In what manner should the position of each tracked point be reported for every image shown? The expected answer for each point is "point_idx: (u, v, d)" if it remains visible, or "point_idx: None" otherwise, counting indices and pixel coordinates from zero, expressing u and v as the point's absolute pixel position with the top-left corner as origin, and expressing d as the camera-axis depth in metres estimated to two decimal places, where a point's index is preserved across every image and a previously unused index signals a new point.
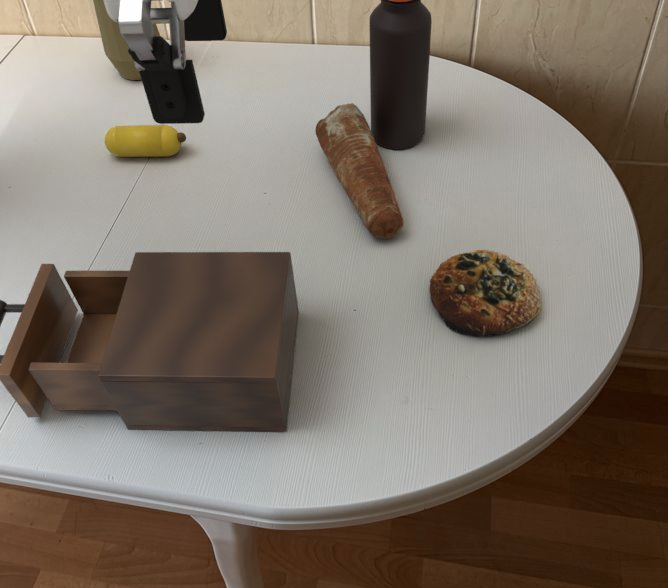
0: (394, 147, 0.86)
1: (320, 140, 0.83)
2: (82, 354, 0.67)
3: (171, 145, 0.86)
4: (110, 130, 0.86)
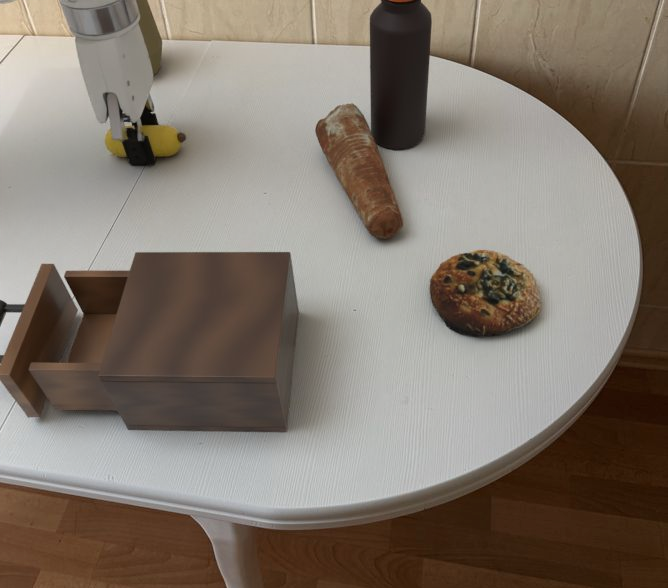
0: (394, 147, 0.86)
1: (320, 140, 0.83)
2: (82, 354, 0.67)
3: (171, 145, 0.86)
4: (110, 130, 0.86)
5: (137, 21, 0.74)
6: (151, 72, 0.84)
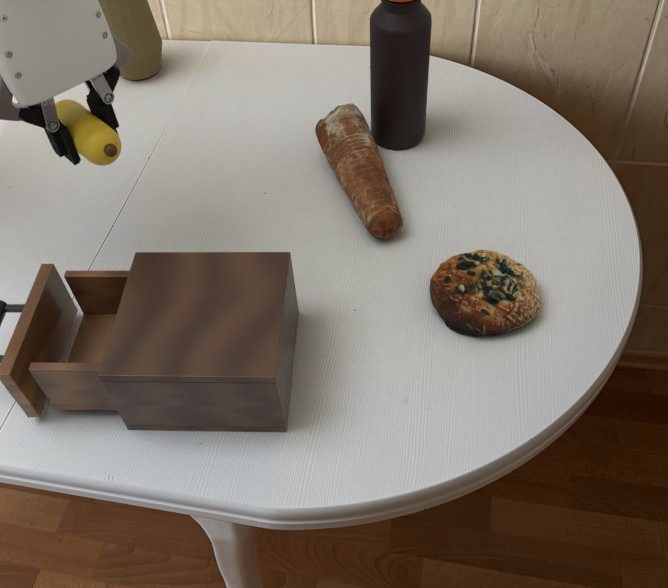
0: (394, 147, 0.86)
1: (320, 140, 0.83)
2: (82, 354, 0.67)
3: (91, 153, 0.64)
4: (58, 102, 0.67)
5: None
6: (107, 55, 0.62)
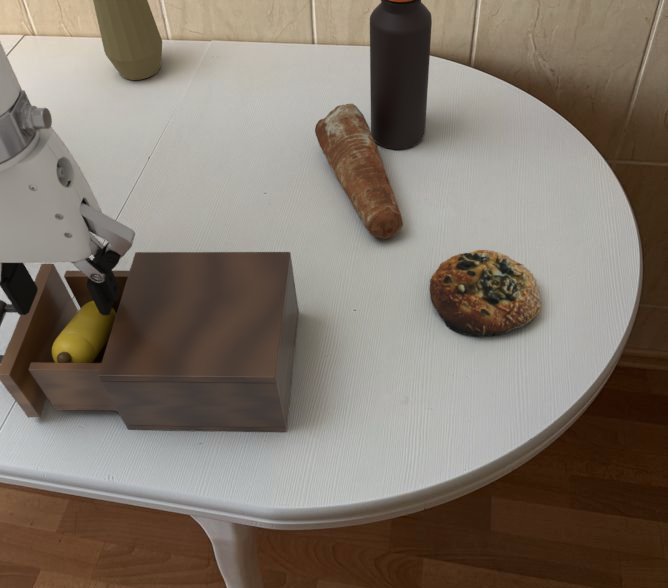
0: (394, 147, 0.86)
1: (320, 140, 0.83)
2: None
3: (52, 353, 0.61)
4: None
5: None
6: (71, 252, 0.53)
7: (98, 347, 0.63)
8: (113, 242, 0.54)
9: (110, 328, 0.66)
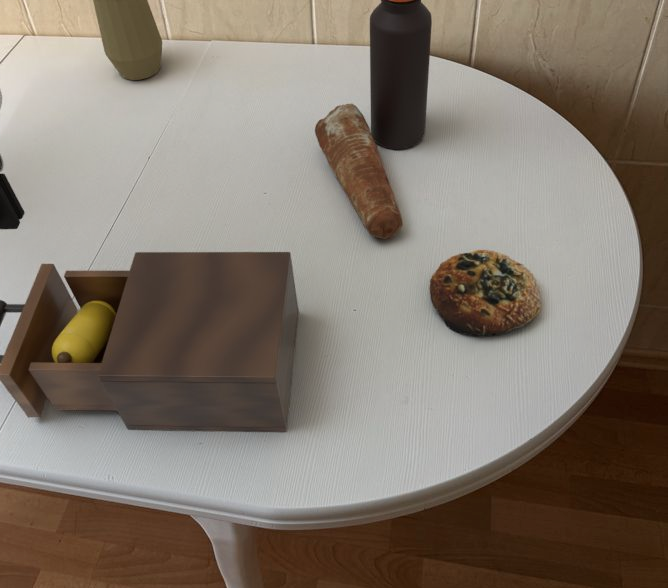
0: (394, 147, 0.86)
1: (319, 140, 0.83)
2: None
3: (52, 353, 0.61)
4: None
5: None
6: None
7: (98, 347, 0.63)
8: None
9: (110, 328, 0.66)
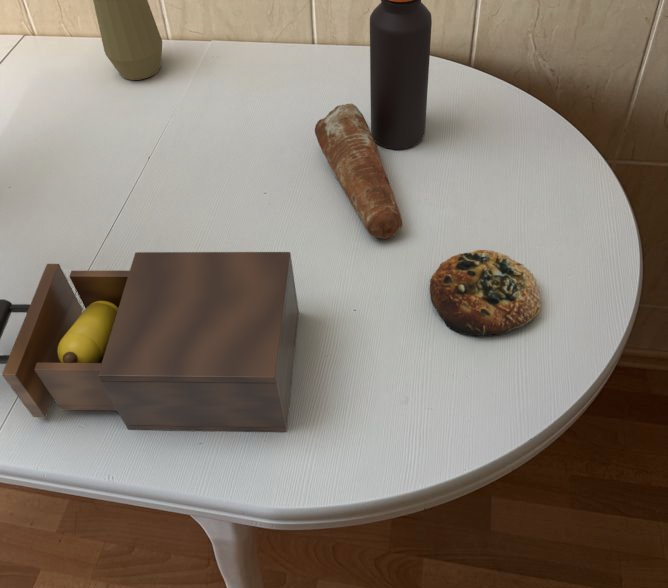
0: (394, 147, 0.86)
1: (319, 140, 0.83)
2: None
3: (58, 353, 0.61)
4: None
5: None
6: None
7: (104, 347, 0.63)
8: None
9: None
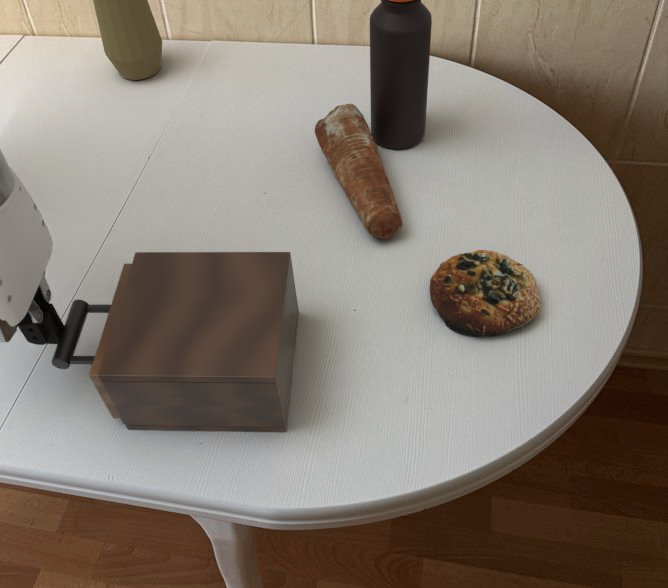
0: (394, 147, 0.86)
1: (319, 140, 0.83)
2: None
3: None
4: None
5: (10, 200, 0.51)
6: (48, 241, 0.60)
7: None
8: None
9: None
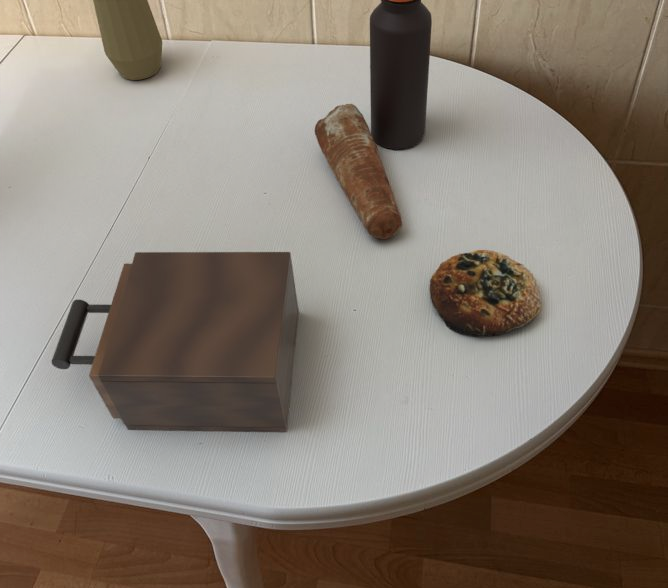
0: (394, 147, 0.86)
1: (319, 140, 0.83)
2: None
3: None
4: None
5: None
6: None
7: None
8: None
9: None
